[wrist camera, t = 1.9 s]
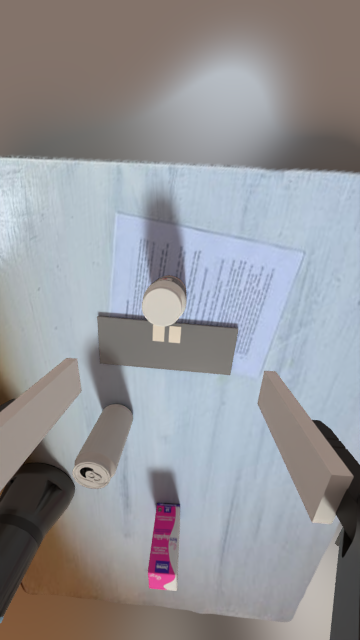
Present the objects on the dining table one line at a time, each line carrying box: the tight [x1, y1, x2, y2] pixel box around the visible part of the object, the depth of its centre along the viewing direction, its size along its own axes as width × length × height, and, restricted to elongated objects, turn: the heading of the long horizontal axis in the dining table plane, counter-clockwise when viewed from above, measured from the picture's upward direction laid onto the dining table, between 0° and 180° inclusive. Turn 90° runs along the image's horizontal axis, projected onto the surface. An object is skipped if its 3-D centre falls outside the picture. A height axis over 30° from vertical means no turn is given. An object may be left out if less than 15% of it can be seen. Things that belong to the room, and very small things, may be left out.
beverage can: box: [73, 404, 133, 489], centre depth 34 cm, size 6×6×12 cm
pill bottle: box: [142, 276, 187, 327], centre depth 27 cm, size 6×6×10 cm
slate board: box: [97, 316, 238, 375], centre depth 34 cm, size 24×9×1 cm, turn 86°
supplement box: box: [148, 503, 180, 591], centre depth 43 cm, size 6×6×12 cm
